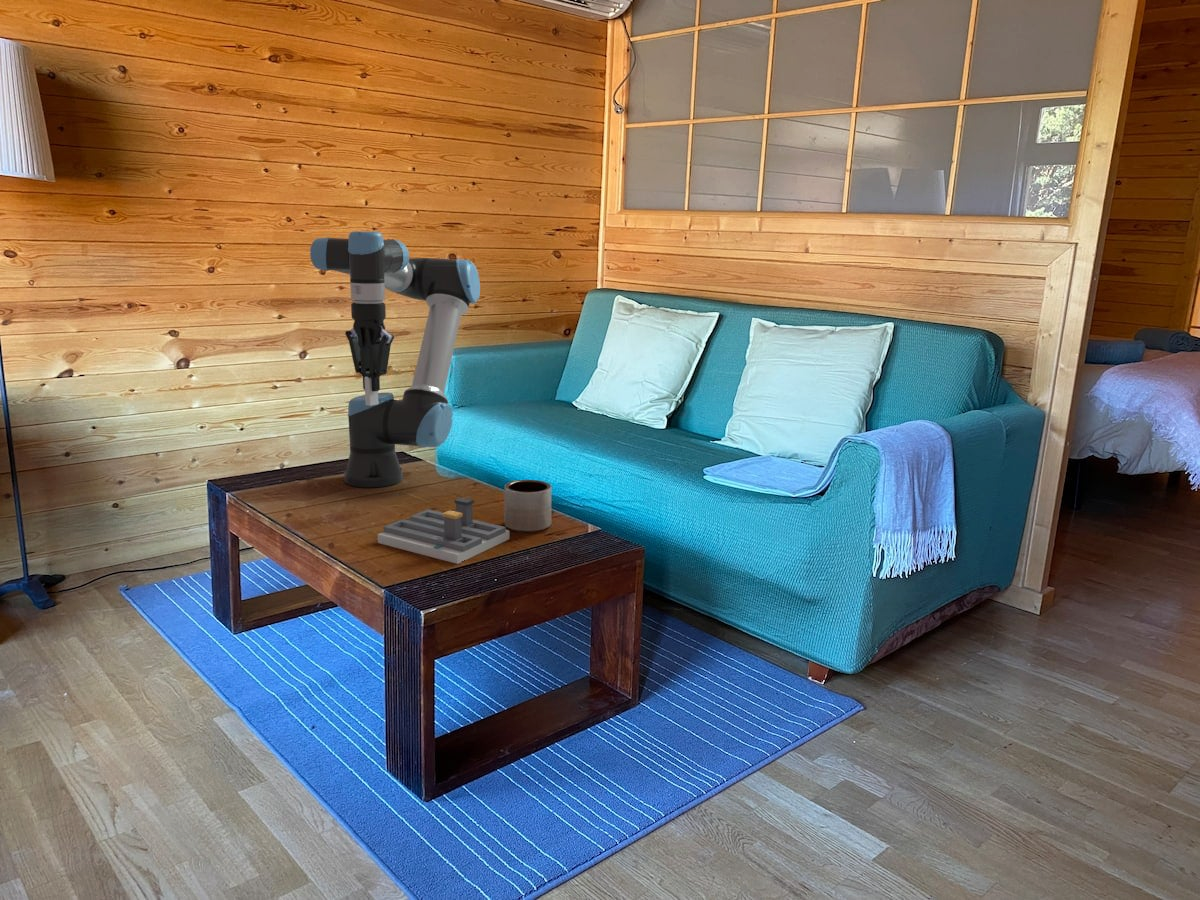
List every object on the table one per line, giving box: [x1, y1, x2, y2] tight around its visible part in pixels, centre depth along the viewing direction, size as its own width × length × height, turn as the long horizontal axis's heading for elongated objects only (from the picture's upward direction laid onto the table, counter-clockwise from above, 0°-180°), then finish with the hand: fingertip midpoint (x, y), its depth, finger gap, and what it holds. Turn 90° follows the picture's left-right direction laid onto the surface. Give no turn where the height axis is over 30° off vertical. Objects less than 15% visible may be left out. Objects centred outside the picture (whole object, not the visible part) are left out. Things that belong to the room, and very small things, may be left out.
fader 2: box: [454, 497, 475, 528], centre depth 200 cm, size 2×4×6 cm, turn 59°
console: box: [377, 508, 510, 564], centre depth 198 cm, size 18×22×3 cm
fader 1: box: [442, 510, 464, 543], centre depth 191 cm, size 2×4×6 cm, turn 59°
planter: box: [503, 479, 552, 533], centre depth 209 cm, size 11×11×10 cm
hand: (372, 404), depth 210 cm, fingers closed
